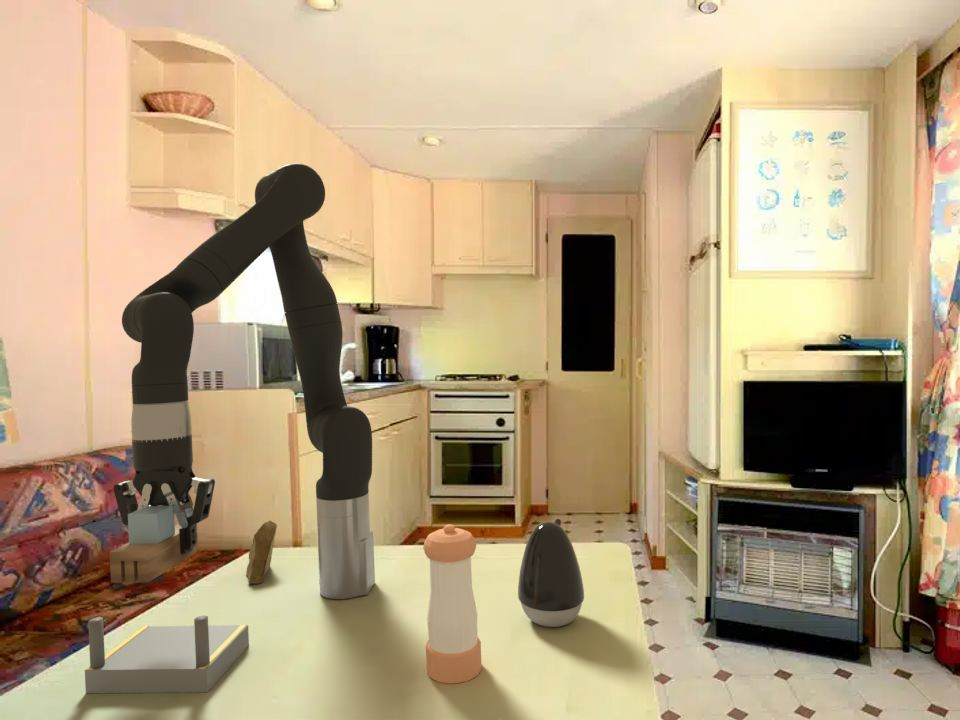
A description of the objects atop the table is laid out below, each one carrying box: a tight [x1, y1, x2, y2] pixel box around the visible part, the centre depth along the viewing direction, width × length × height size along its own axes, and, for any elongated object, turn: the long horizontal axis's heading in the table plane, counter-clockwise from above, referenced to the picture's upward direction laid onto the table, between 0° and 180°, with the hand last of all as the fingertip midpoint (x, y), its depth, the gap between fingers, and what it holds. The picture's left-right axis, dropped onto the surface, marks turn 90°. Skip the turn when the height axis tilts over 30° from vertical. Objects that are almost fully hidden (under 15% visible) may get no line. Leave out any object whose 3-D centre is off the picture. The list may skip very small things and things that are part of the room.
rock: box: [245, 520, 278, 585], centre depth 115 cm, size 11×9×10 cm
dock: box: [84, 615, 250, 694], centre depth 81 cm, size 16×12×9 cm
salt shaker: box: [422, 523, 483, 684], centre depth 78 cm, size 7×7×19 cm
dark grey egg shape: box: [517, 518, 585, 628], centre depth 92 cm, size 10×10×15 cm
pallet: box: [109, 523, 199, 584], centre depth 82 cm, size 12×5×4 cm, turn 177°
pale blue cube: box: [127, 505, 175, 544], centre depth 81 cm, size 4×4×4 cm
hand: (167, 552), depth 84 cm, fingers closed on pallet, 5 cm apart
